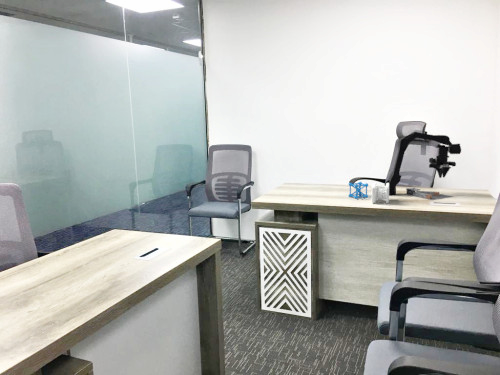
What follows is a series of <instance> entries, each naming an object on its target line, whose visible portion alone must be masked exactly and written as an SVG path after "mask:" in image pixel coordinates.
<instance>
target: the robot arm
mask: <svg viewBox="0 0 500 375" xmlns="http://www.w3.org/2000/svg"><path fill="white" fill-rule="evenodd" d="M415 139H422V140H427V141H433V142H436V143H437V145H435V148H437V149H438V154H437V155H436V157H435V158H434V157H430V158H429V159H428V161H429V162H428V163H429V164H428V168H430V169H435V170H436V171H437V174H438V178H439V179H441V178H445V177H446V176H447V174H448V173H449V171H450V169H452V167H457V163H456V162H455V161H448V160H449V158H450V155H460V154H461V153H462V147H461V143H452V141H451V140H450V139H451V138H450V137H449V136H448V135H444V134H441V135H440V134H435V135H433V134H429V133H422V132H418V131H412V132H411V133H409V134H408V135H406V136H404V137H401V138H399V139H398V141H397V144H398V145H397V153H396V158H395V162H394V165H393V170H392V172H391V174H390V175H389V177H388V179H387V181H385V182H384V183H385V185H386V183H389V197H392V196H397V187H396V186H397V185H399V183H400V182H401V179H402V175H401V174H400V172H401V168H402V163H403V159H404V156H405V152H406V150H407V149H408V147H409V145H410V143H412V142H413V141H414V140H415ZM449 154H450V155H449ZM451 166H452V167H451Z"/></svg>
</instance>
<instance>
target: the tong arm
mask: <svg viewBox="0 0 500 375" xmlns="http://www.w3.org/2000/svg"><path fill="white" fill-rule="evenodd" d="M415 192H419V193H424V194H430V195H432V196H439V194H440V191H431V190H430V191H429V190H418V191H415Z"/></svg>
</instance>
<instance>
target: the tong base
mask: <svg viewBox="0 0 500 375" xmlns="http://www.w3.org/2000/svg"><path fill="white" fill-rule="evenodd" d="M405 190H406V193H405V194H408V195H407V196H410V195H413V196H412V197H414V196H418V197H417V198H419V197H422V198H421V199H424V198H427V199H426V200H429V199H432V195H430V194H424V193H419V192H416V191H421V188H418V187H407V188H406V189H405Z"/></svg>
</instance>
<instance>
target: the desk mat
mask: <svg viewBox="0 0 500 375" xmlns="http://www.w3.org/2000/svg"><path fill="white" fill-rule="evenodd" d="M404 195H405V196H411V197H415V198H419V199H425V200H429V201H434V200H435V201H436V200H443V199H449V198H453V197H454V198H455V196H453V195H448V194H443V193H439V196H432V199H427V198H422V197H418V196H413V195H408V194H406V193H404Z"/></svg>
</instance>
